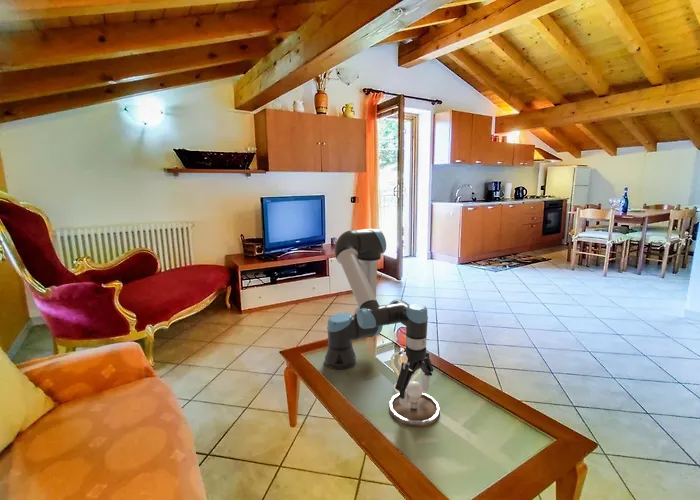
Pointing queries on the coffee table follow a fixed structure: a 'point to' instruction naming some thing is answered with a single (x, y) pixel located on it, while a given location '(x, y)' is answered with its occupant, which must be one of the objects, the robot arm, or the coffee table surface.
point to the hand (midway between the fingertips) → (414, 397)
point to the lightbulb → (414, 393)
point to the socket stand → (415, 411)
